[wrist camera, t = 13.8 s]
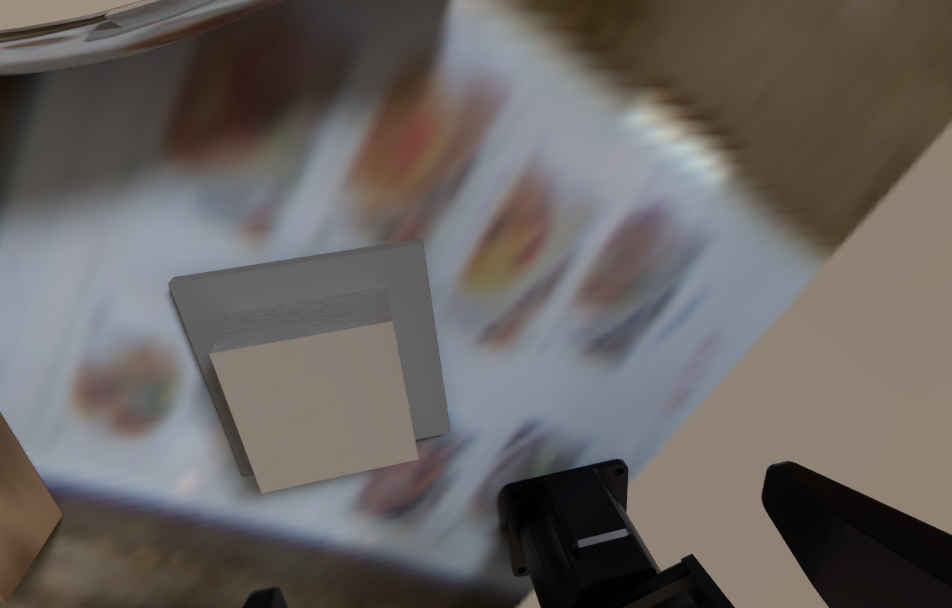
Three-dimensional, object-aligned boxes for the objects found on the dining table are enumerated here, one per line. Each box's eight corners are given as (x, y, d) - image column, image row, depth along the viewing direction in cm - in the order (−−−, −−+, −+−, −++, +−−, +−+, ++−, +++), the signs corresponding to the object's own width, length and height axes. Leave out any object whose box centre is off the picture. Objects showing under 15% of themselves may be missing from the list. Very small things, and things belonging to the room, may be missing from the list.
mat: (448, 424, 24) (450, 432, 24) (245, 466, 23) (242, 476, 22) (421, 238, 20) (423, 243, 20) (173, 277, 19) (168, 283, 18)
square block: (411, 412, 23) (418, 459, 20) (273, 440, 22) (261, 493, 19) (387, 286, 20) (392, 320, 17) (229, 313, 19) (209, 354, 16)
